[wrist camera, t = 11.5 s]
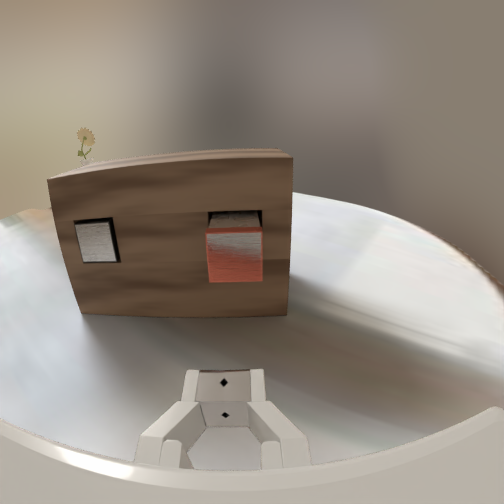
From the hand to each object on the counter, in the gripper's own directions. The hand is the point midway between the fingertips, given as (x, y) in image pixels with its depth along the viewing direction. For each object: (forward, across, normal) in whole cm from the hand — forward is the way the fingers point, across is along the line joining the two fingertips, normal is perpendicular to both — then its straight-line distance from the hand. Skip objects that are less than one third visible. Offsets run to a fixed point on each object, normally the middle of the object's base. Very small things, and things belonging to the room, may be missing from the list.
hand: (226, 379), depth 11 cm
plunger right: (+16, 0, +3) cm, 16 cm away
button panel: (+22, +7, +9) cm, 25 cm away
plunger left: (+20, +14, +2) cm, 25 cm away
